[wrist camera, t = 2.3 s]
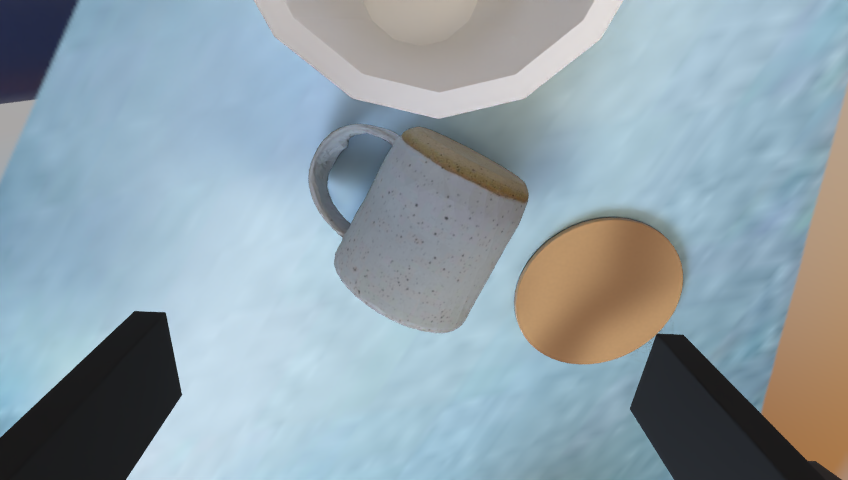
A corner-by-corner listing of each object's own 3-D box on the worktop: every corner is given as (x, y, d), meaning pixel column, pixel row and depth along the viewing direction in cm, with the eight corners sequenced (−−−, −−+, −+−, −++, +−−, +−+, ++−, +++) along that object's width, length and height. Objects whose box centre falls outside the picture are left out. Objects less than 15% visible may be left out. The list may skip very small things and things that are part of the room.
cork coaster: (502, 358, 30) (503, 362, 29) (530, 212, 25) (532, 214, 25) (651, 363, 31) (654, 366, 30) (703, 222, 26) (707, 224, 26)
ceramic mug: (519, 166, 24) (565, 211, 17) (454, 280, 27) (470, 359, 20) (346, 80, 22) (316, 92, 15) (295, 214, 25) (249, 276, 18)
